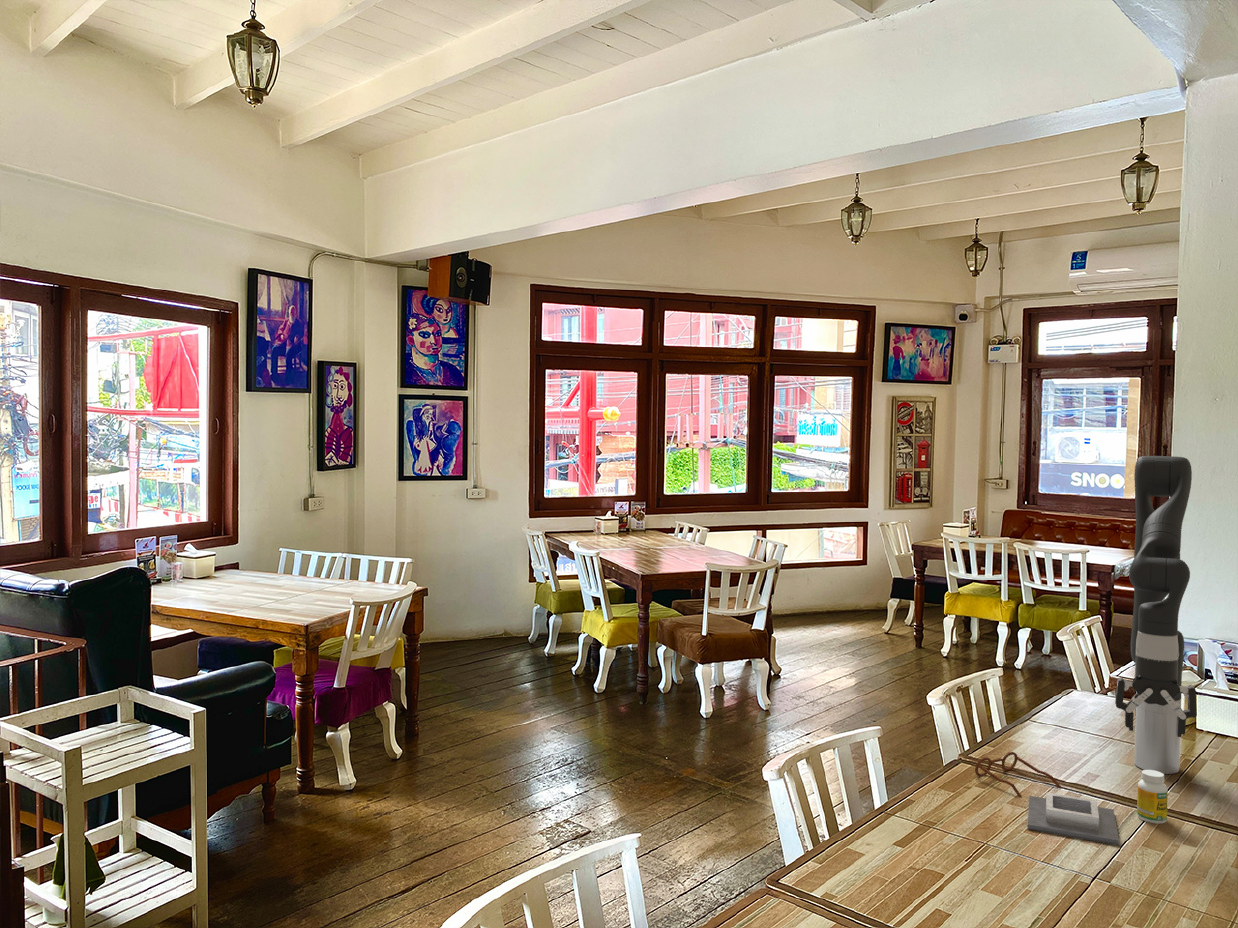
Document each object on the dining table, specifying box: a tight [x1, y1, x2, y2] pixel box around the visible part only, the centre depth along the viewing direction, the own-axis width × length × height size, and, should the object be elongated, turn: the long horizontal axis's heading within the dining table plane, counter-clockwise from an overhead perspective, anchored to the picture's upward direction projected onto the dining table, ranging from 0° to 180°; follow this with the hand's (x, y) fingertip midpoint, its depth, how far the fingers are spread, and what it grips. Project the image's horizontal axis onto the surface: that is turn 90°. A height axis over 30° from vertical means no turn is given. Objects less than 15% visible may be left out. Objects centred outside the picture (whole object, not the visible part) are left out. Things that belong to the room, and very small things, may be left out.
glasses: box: [974, 751, 1063, 798], centre depth 205 cm, size 13×13×5 cm
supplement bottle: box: [1136, 769, 1169, 825], centre depth 186 cm, size 5×5×10 cm
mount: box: [1027, 792, 1120, 846], centre depth 184 cm, size 16×16×4 cm
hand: (1154, 732), depth 185 cm, fingers open, 8 cm apart
